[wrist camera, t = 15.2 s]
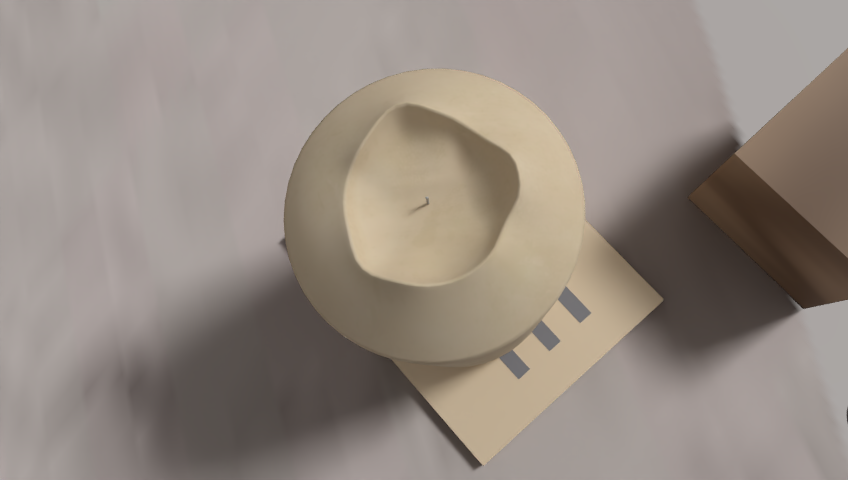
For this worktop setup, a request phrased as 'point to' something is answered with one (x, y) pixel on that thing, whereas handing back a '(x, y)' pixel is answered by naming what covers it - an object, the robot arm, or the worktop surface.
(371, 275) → the candle
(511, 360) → the letter
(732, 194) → the block
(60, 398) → the worktop surface
